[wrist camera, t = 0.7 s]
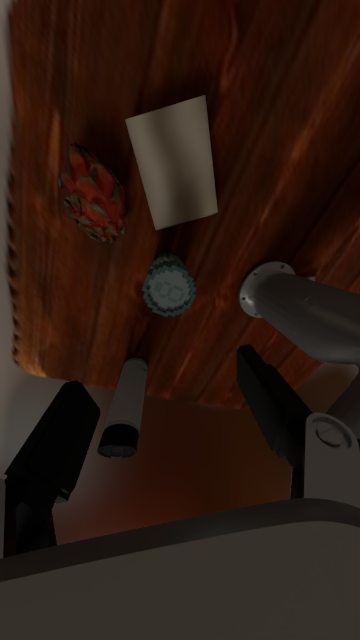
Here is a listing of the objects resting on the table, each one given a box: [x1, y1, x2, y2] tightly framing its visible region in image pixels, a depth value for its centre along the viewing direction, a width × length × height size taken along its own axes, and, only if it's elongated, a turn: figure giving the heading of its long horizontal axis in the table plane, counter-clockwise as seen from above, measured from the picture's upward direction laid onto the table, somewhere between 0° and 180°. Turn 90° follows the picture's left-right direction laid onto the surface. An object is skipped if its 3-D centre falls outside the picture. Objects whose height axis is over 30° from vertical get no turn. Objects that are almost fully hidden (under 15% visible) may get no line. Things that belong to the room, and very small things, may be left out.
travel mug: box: [97, 358, 148, 458], centre depth 34 cm, size 6×7×20 cm
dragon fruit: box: [58, 142, 127, 244], centre depth 23 cm, size 8×8×12 cm
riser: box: [126, 95, 218, 230], centre depth 24 cm, size 10×12×4 cm
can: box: [142, 252, 196, 317], centre depth 25 cm, size 6×6×15 cm
